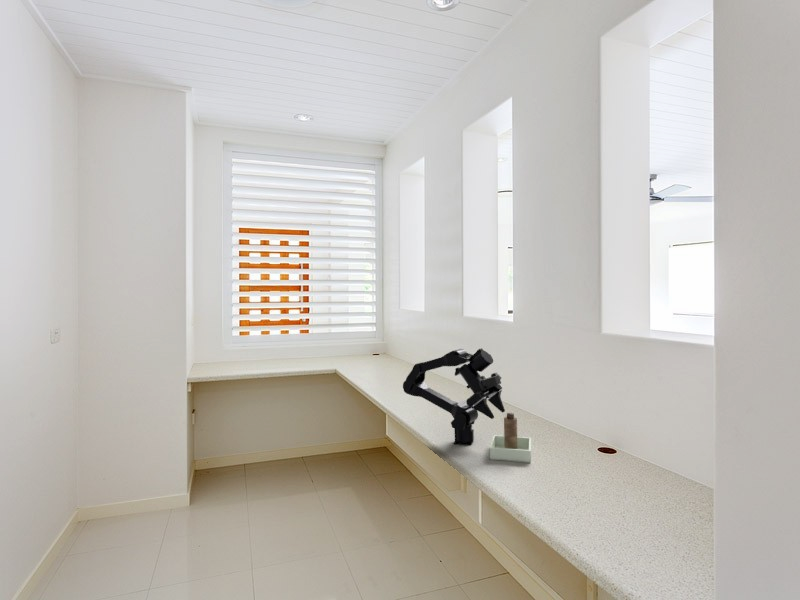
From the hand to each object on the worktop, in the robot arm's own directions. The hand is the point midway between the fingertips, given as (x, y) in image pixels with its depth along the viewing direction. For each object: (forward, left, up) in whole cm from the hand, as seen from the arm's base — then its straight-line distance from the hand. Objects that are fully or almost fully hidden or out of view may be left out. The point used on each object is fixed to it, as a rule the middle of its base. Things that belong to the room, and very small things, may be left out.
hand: (498, 415), depth 163 cm
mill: (+4, -4, -12) cm, 13 cm away
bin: (+4, -4, -12) cm, 14 cm away
